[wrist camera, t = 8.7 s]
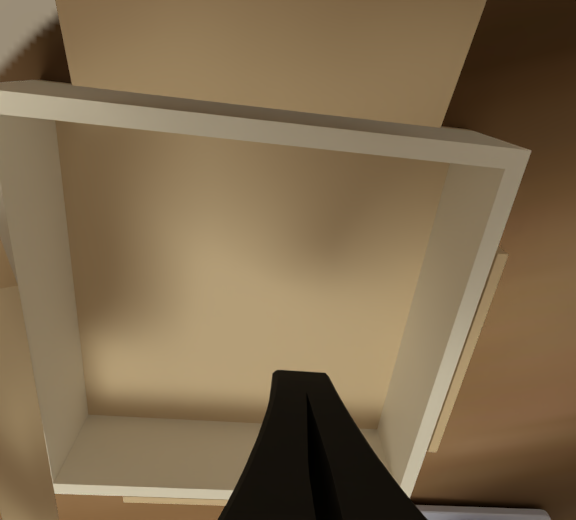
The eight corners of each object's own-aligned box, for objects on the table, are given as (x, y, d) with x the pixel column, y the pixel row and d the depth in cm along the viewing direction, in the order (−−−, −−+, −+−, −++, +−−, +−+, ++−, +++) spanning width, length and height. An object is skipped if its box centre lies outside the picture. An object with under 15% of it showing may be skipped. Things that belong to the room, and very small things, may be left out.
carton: (390, 438, 19) (415, 513, 16) (81, 422, 18) (41, 500, 15) (481, 130, 13) (547, 152, 10) (39, 79, 12) (-41, 85, 9)
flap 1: (65, 551, 10) (17, 576, 10) (35, 444, 13) (-4, 459, 12) (17, 285, 7) (-56, 299, 7) (-9, 214, 10) (-63, 219, 9)
